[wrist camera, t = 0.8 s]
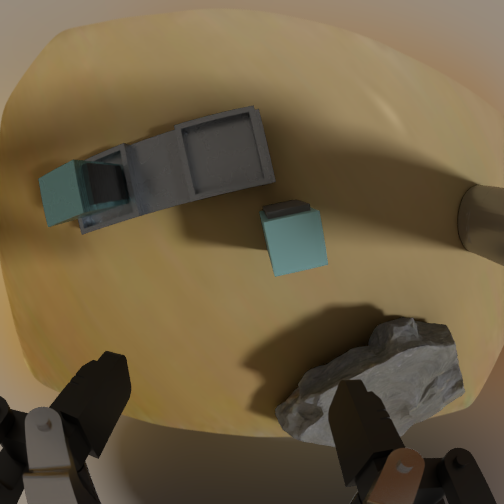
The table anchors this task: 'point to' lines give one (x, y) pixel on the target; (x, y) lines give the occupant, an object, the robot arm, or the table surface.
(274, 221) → the block
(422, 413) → the stone
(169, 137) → the grey block holder
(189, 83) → the table surface
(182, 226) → the table surface
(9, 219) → the table surface
